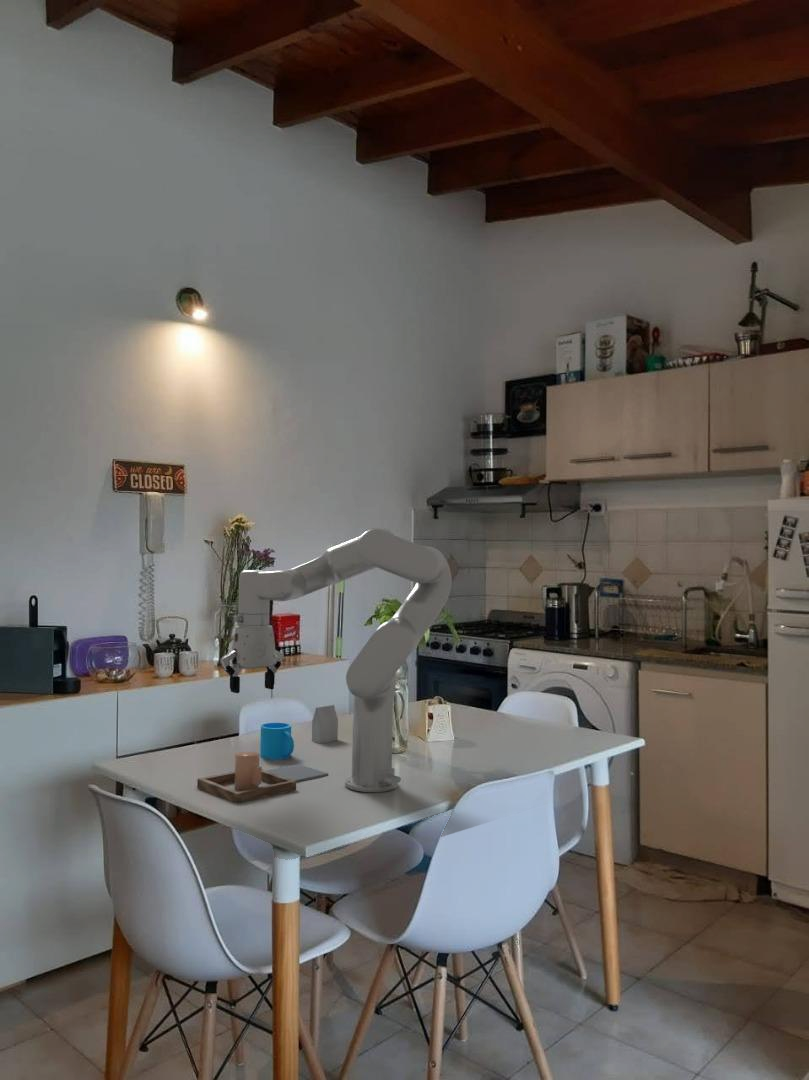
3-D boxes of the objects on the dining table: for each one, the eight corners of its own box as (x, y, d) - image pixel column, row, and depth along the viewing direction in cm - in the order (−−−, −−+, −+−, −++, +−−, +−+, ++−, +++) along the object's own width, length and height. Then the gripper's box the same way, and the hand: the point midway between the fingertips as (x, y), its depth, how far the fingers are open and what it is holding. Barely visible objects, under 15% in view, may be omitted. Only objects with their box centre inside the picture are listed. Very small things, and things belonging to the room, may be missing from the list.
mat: (327, 775, 222) (328, 773, 222) (288, 783, 213) (288, 781, 213) (298, 766, 230) (298, 764, 230) (259, 773, 222) (259, 771, 222)
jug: (229, 788, 209) (230, 754, 209) (249, 784, 213) (250, 750, 213) (249, 795, 203) (249, 760, 203) (269, 791, 207) (269, 756, 207)
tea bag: (337, 739, 262) (338, 705, 262) (320, 743, 257) (320, 708, 257) (329, 737, 264) (329, 704, 264) (311, 741, 259) (312, 706, 260)
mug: (254, 755, 241) (254, 725, 241) (279, 750, 247) (279, 721, 247) (279, 763, 232) (280, 732, 232) (305, 759, 238) (305, 728, 238)
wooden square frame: (296, 789, 208) (296, 781, 208) (236, 802, 197) (236, 793, 197) (255, 775, 220) (255, 767, 220) (197, 787, 209) (197, 778, 209)
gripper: (230, 623, 210) (229, 696, 209) (291, 620, 221) (290, 689, 221) (214, 620, 215) (213, 691, 215) (275, 617, 227) (273, 685, 227)
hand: (252, 690), depth 218 cm, fingers open, 9 cm apart
